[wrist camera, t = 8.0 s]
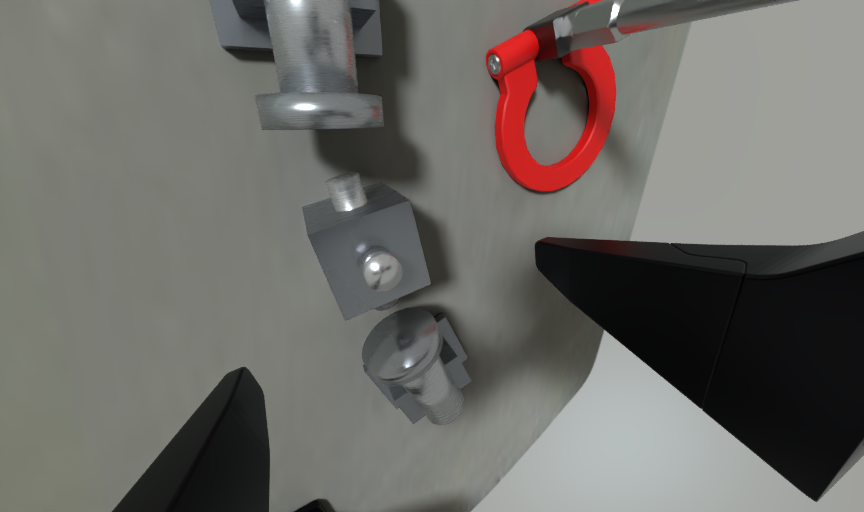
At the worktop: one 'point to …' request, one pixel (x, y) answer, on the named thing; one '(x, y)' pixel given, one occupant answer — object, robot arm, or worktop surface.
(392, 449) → the worktop surface
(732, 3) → the tow hook
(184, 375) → the worktop surface
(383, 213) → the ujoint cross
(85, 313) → the worktop surface
